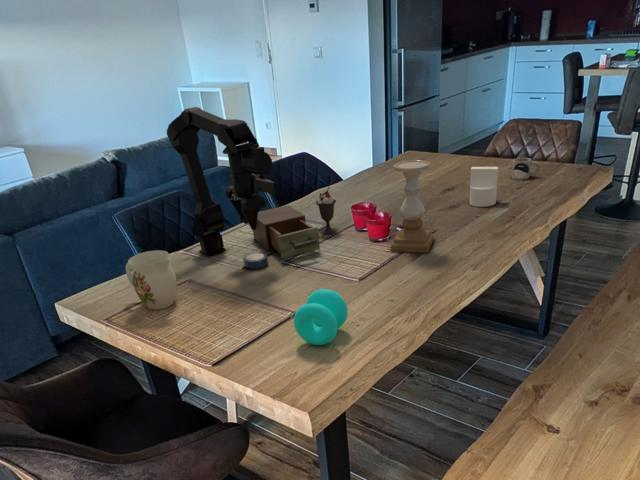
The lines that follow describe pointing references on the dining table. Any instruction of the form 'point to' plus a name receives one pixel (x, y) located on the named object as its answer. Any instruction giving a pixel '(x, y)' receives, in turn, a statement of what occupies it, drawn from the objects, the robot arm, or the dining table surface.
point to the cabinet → (273, 222)
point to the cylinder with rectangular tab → (483, 186)
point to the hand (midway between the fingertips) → (250, 226)
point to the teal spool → (321, 317)
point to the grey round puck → (255, 260)
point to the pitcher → (153, 278)
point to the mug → (523, 168)
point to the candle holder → (412, 211)
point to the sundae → (326, 210)
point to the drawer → (293, 238)
